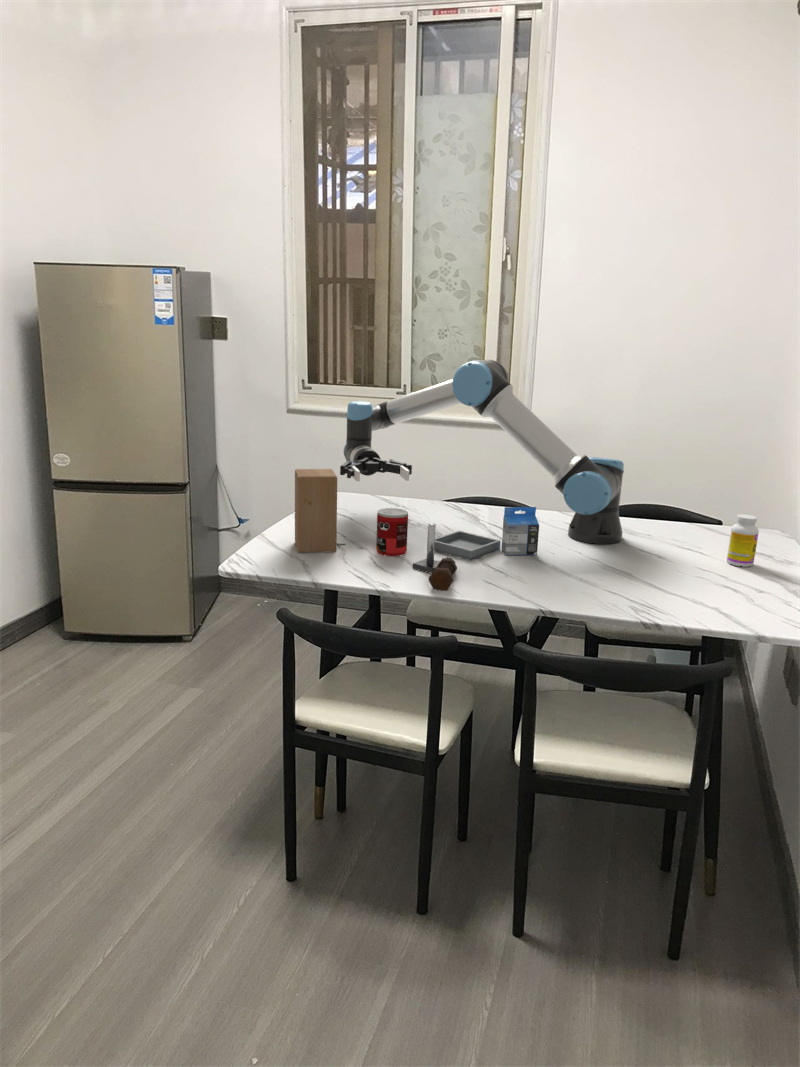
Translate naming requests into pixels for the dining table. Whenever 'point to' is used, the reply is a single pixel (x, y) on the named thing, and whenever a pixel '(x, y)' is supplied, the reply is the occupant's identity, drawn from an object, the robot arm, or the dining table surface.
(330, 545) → the wooden block
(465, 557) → the tray
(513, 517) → the label tape box
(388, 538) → the canned food
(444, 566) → the brown hex dumbbell
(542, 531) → the dining table surface
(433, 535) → the stand
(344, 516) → the dining table surface
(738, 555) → the supplement bottle
